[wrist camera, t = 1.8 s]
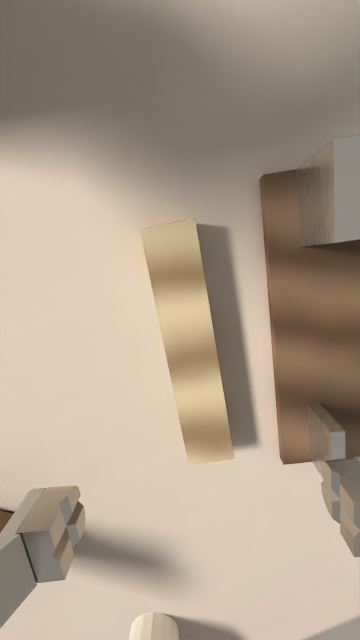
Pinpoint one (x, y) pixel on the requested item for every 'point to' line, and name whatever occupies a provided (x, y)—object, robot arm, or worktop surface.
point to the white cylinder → (154, 627)
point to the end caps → (323, 228)
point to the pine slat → (188, 339)
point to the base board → (310, 322)
